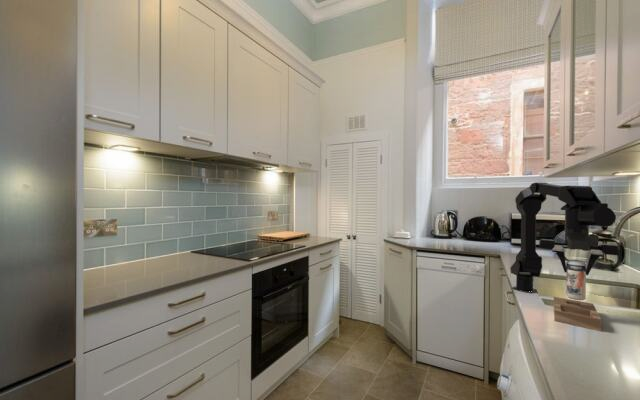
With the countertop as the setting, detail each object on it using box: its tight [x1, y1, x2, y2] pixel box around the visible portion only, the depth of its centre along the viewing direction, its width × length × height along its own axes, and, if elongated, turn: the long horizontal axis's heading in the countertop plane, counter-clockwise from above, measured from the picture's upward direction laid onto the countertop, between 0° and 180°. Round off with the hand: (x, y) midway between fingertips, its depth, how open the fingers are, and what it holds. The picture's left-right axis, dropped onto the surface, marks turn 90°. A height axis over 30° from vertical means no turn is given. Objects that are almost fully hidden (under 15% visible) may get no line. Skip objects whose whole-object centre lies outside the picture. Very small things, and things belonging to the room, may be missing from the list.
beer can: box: [565, 259, 587, 301], centre depth 90 cm, size 5×5×12 cm
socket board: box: [553, 296, 602, 332], centre depth 89 cm, size 18×10×3 cm, turn 141°
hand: (575, 273), depth 90 cm, fingers closed on beer can, 5 cm apart
